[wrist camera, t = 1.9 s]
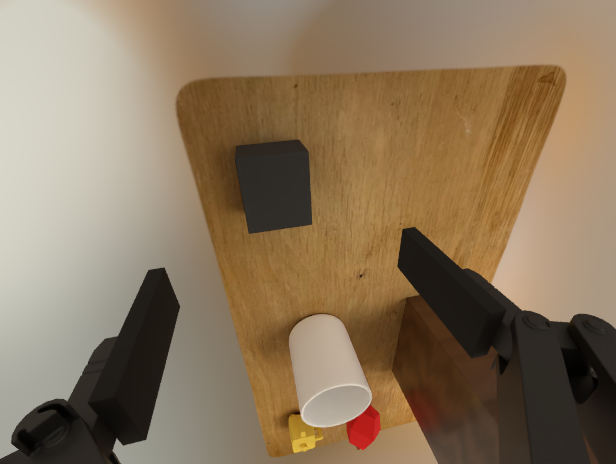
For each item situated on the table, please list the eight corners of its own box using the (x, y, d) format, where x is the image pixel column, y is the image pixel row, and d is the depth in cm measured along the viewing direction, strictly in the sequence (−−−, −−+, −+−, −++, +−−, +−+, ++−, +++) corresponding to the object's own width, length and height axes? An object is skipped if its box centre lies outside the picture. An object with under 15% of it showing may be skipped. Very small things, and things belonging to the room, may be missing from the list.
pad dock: (406, 297, 41) (749, 771, 13) (466, 286, 43) (884, 691, 15) (391, 370, 50) (576, 742, 23) (441, 359, 52) (671, 694, 24)
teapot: (318, 424, 55) (324, 455, 50) (289, 431, 54) (293, 463, 50) (317, 402, 51) (324, 433, 46) (286, 409, 50) (290, 442, 45)
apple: (370, 423, 48) (354, 466, 48) (394, 419, 51) (379, 458, 52) (345, 395, 53) (330, 433, 54) (368, 392, 57) (355, 428, 57)
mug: (328, 365, 46) (349, 438, 37) (275, 339, 40) (285, 417, 31) (367, 335, 44) (400, 404, 35) (318, 302, 38) (341, 375, 29)
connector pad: (235, 145, 26) (234, 158, 22) (299, 139, 27) (308, 151, 23) (248, 212, 29) (248, 234, 26) (303, 205, 30) (312, 224, 27)
